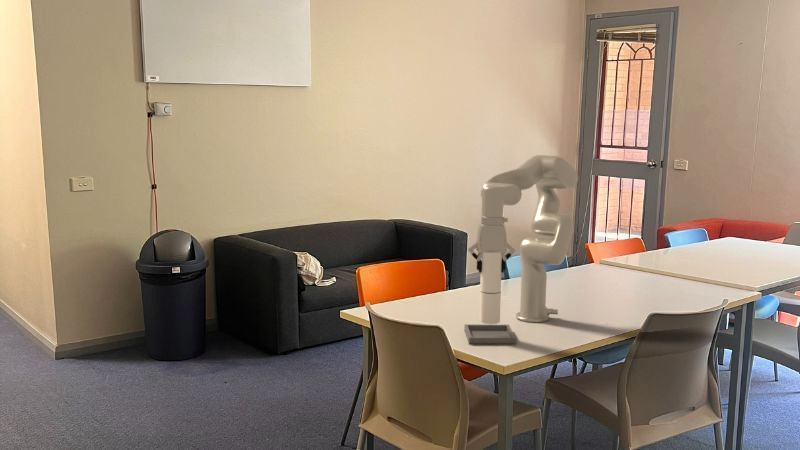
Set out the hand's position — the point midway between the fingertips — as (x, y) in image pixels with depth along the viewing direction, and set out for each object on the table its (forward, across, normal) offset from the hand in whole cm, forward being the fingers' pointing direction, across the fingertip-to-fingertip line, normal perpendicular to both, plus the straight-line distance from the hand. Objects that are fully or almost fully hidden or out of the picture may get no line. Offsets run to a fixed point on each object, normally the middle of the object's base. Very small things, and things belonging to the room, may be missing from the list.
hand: (490, 271), depth 260 cm
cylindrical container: (+18, 0, 0) cm, 18 cm away
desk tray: (+24, 0, 0) cm, 24 cm away
